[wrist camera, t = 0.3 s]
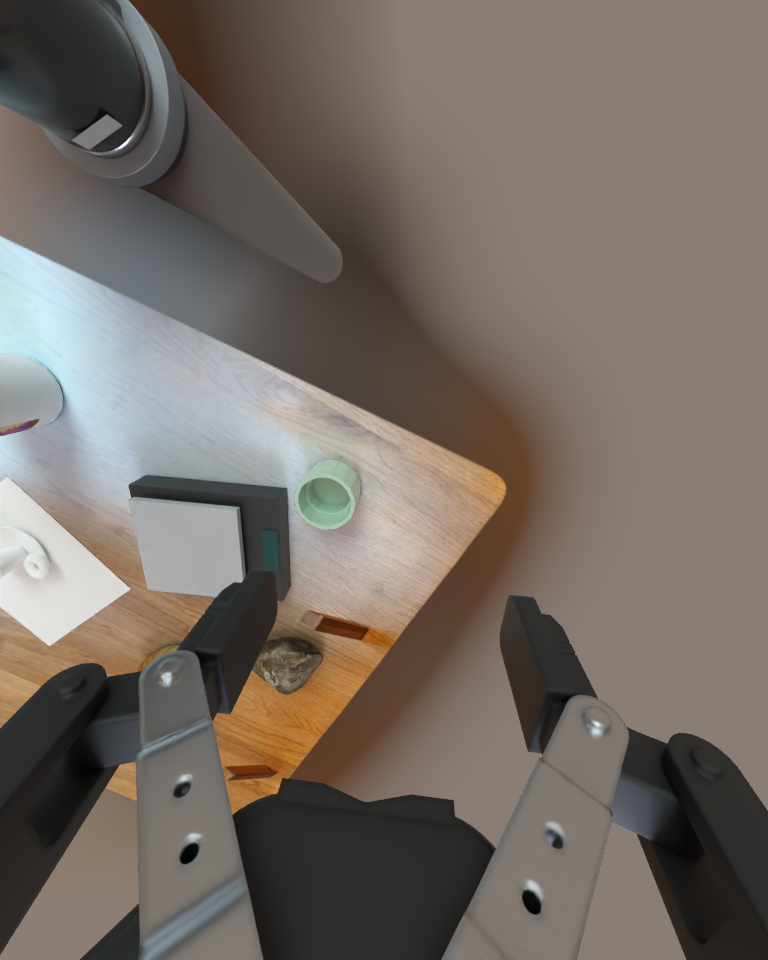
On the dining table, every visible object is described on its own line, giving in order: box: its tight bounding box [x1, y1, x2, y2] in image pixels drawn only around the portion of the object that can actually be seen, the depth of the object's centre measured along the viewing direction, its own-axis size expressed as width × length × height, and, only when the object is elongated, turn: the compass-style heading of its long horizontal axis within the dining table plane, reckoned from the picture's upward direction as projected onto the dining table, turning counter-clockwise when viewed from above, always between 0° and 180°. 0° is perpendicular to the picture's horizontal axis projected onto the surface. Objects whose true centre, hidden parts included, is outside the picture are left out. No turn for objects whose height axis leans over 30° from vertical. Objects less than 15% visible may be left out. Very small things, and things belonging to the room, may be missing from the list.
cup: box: [294, 460, 361, 530], centre depth 40 cm, size 6×6×5 cm
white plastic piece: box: [0, 526, 53, 581], centre depth 48 cm, size 9×8×4 cm
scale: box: [128, 475, 291, 602], centre depth 44 cm, size 14×17×5 cm
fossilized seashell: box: [252, 637, 323, 695], centre depth 50 cm, size 8×7×10 cm
